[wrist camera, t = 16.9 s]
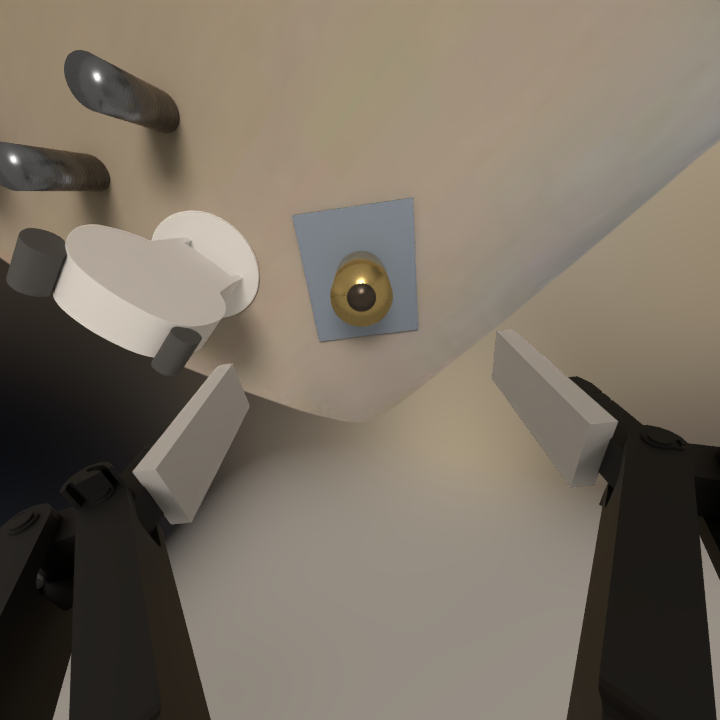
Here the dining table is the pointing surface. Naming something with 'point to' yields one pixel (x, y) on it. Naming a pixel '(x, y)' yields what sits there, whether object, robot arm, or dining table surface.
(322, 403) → the dining table surface
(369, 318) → the gold metal cylinder
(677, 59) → the dining table surface
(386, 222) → the slate board
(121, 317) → the panda figurine
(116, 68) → the spacer posts
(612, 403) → the robot arm
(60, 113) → the dining table surface
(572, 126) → the dining table surface
